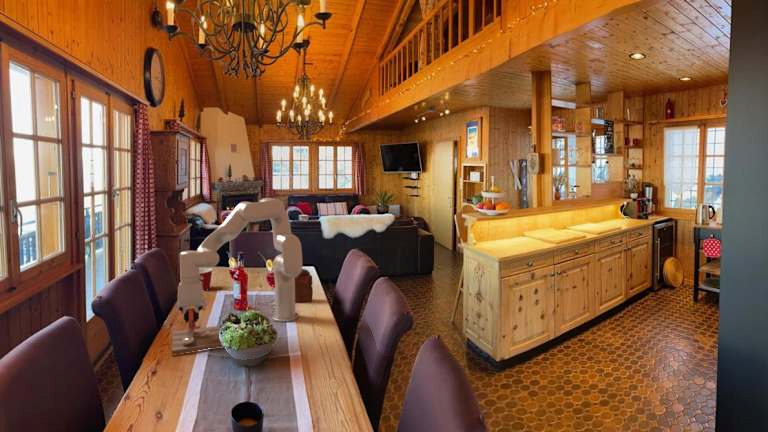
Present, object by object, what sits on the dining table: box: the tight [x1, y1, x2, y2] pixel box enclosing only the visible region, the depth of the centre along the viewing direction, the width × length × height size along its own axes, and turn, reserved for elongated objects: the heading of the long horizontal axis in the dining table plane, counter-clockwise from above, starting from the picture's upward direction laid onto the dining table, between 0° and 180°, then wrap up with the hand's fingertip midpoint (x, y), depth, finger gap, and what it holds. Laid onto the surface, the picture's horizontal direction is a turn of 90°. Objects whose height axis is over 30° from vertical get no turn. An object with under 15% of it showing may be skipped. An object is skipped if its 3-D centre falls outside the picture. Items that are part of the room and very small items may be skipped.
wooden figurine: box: [294, 268, 314, 303], centre depth 247 cm, size 12×6×18 cm, turn 105°
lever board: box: [171, 325, 222, 356], centre depth 190 cm, size 22×19×2 cm
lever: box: [183, 307, 197, 346], centre depth 187 cm, size 18×4×10 cm, turn 18°
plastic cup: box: [199, 267, 214, 291], centre depth 270 cm, size 11×11×12 cm
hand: (191, 320), depth 194 cm, fingers closed on lever, 3 cm apart
